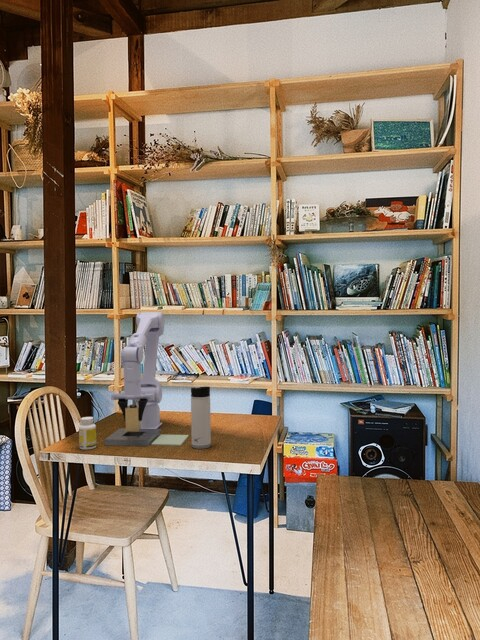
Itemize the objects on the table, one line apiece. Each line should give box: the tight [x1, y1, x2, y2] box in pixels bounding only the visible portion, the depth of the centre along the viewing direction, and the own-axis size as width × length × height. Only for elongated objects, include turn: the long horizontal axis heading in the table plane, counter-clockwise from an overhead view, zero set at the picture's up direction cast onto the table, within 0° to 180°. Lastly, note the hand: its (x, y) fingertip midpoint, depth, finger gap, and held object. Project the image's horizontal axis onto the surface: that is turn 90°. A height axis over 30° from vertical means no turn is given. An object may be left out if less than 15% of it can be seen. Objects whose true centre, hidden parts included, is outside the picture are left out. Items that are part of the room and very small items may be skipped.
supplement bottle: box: [78, 416, 97, 451], centre depth 168 cm, size 5×5×10 cm
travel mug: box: [190, 386, 212, 450], centre depth 167 cm, size 6×7×20 cm
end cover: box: [125, 403, 141, 432], centre depth 177 cm, size 4×4×9 cm
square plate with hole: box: [104, 427, 162, 447], centre depth 177 cm, size 15×15×2 cm
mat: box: [150, 434, 189, 447], centre depth 175 cm, size 12×10×1 cm
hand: (133, 420), depth 177 cm, fingers closed on end cover, 4 cm apart
